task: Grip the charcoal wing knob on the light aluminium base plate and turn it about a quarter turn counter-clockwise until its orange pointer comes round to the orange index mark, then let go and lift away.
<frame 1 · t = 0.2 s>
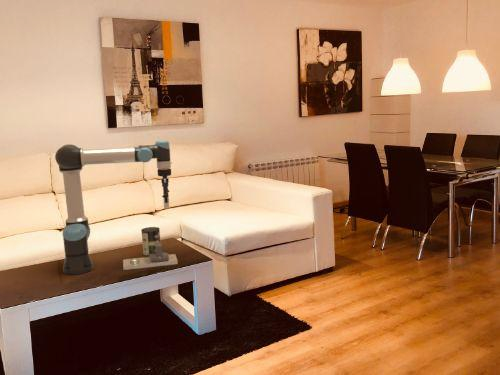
hand: (166, 206, 286), 27 cm above the table, tool pointing down, fingers open, 13 cm apart
base plate: (150, 263, 273), on the table
wing knob: (158, 251, 273), point 6 cm above the table, hinge at 0.0°
coffee can: (152, 253, 293), on the table
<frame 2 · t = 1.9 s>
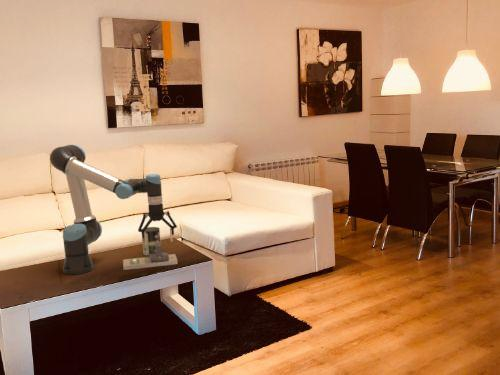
hand: (158, 242, 272), 11 cm above the table, tool pointing down, fingers open, 13 cm apart
nothing on the table moved.
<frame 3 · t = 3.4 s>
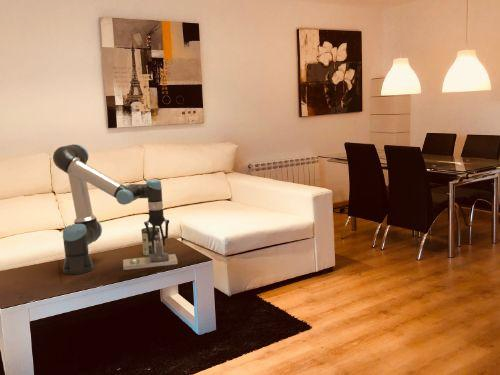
hand: (158, 251, 273), 6 cm above the table, tool pointing down, fingers closed on wing knob, 3 cm apart
wing knob: (158, 251, 273), point 6 cm above the table, hinge at 0.0°, touching gripper
everything else where it was.
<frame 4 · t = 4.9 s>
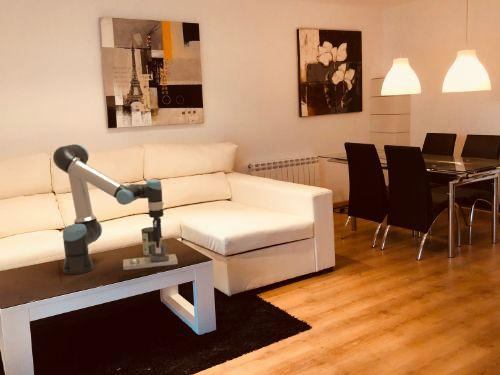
hand: (159, 251, 273), 6 cm above the table, tool pointing down, fingers closed on wing knob, 5 cm apart
wing knob: (158, 251, 273), point 6 cm above the table, hinge at 54.9°, touching gripper
everything else where it was.
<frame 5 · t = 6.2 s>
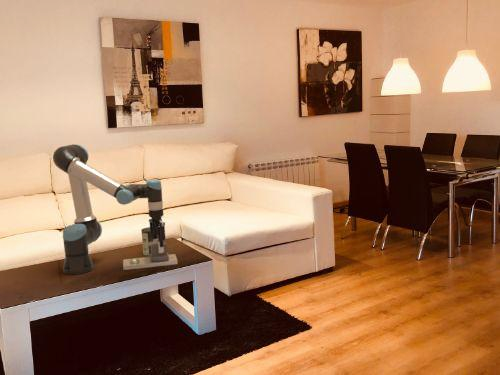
hand: (158, 251, 273), 6 cm above the table, tool pointing down, fingers closed on wing knob, 4 cm apart
wing knob: (158, 251, 273), point 6 cm above the table, hinge at 93.5°, touching gripper
everything else where it was.
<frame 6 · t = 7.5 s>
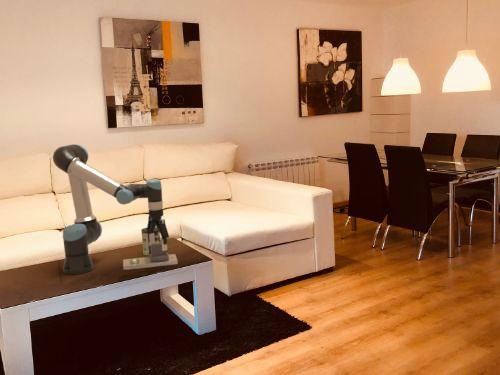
hand: (158, 247, 273), 8 cm above the table, tool pointing down, fingers open, 13 cm apart
wing knob: (158, 251, 273), point 6 cm above the table, hinge at 94.2°
everything else where it was.
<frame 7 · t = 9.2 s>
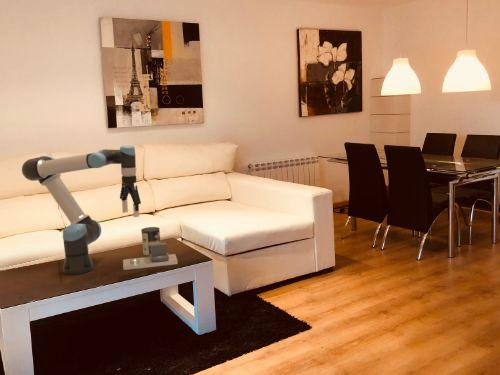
hand: (130, 214, 272), 26 cm above the table, tool pointing down, fingers open, 13 cm apart
nothing on the table moved.
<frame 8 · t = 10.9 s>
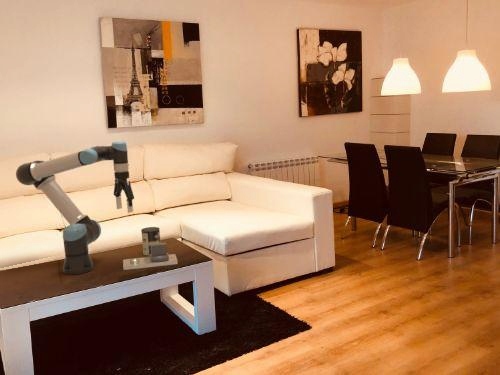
hand: (124, 210, 272), 29 cm above the table, tool pointing down, fingers open, 13 cm apart
nothing on the table moved.
at the end: wing knob at +94° (first picture: +0°); the gripper is holding nothing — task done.
